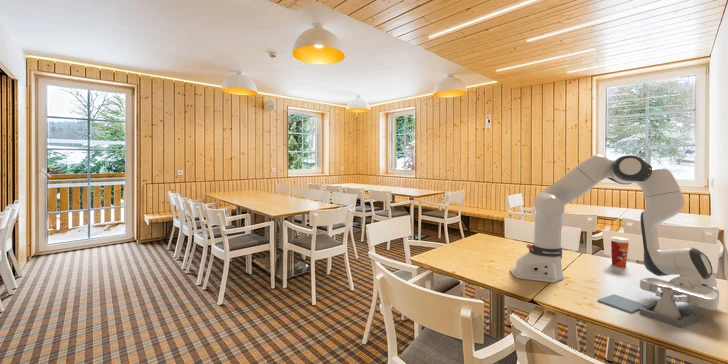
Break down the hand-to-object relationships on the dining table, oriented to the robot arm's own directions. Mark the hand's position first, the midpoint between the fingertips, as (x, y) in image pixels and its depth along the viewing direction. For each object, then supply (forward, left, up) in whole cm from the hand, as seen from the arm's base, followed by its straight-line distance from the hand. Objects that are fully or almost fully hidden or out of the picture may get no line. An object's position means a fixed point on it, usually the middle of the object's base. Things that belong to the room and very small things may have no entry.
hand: (666, 296), depth 112 cm
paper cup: (+13, +57, -7) cm, 59 cm away
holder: (+1, 0, -7) cm, 7 cm away
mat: (-9, +8, -7) cm, 14 cm away
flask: (+1, +1, -7) cm, 7 cm away
